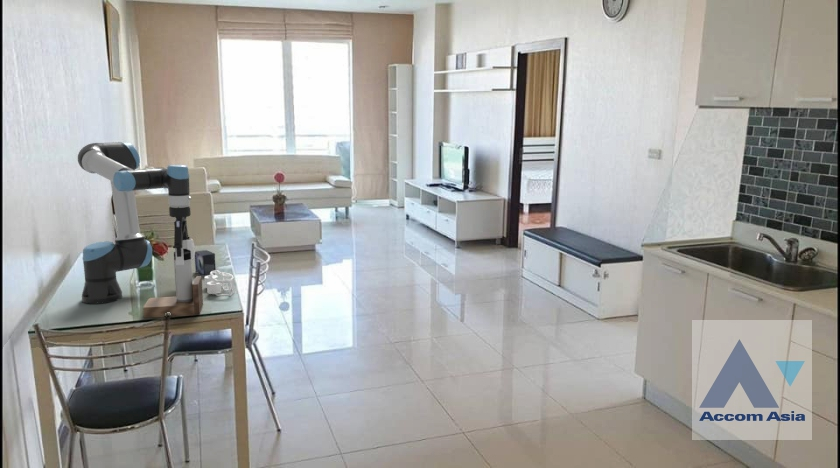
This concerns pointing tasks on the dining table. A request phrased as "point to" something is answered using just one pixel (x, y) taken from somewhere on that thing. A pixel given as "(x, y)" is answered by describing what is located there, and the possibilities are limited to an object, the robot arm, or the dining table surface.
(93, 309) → the dining table surface
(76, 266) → the dining table surface
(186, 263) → the travel mug
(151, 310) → the ledge
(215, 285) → the car outline toy
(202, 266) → the small box
